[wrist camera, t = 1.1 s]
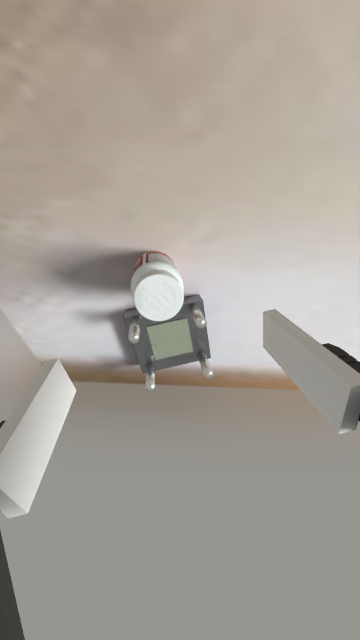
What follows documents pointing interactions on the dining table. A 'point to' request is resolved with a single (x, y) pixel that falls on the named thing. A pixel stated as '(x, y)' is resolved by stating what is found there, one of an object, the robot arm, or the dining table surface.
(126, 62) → the dining table surface
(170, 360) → the chassis
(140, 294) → the pill bottle
